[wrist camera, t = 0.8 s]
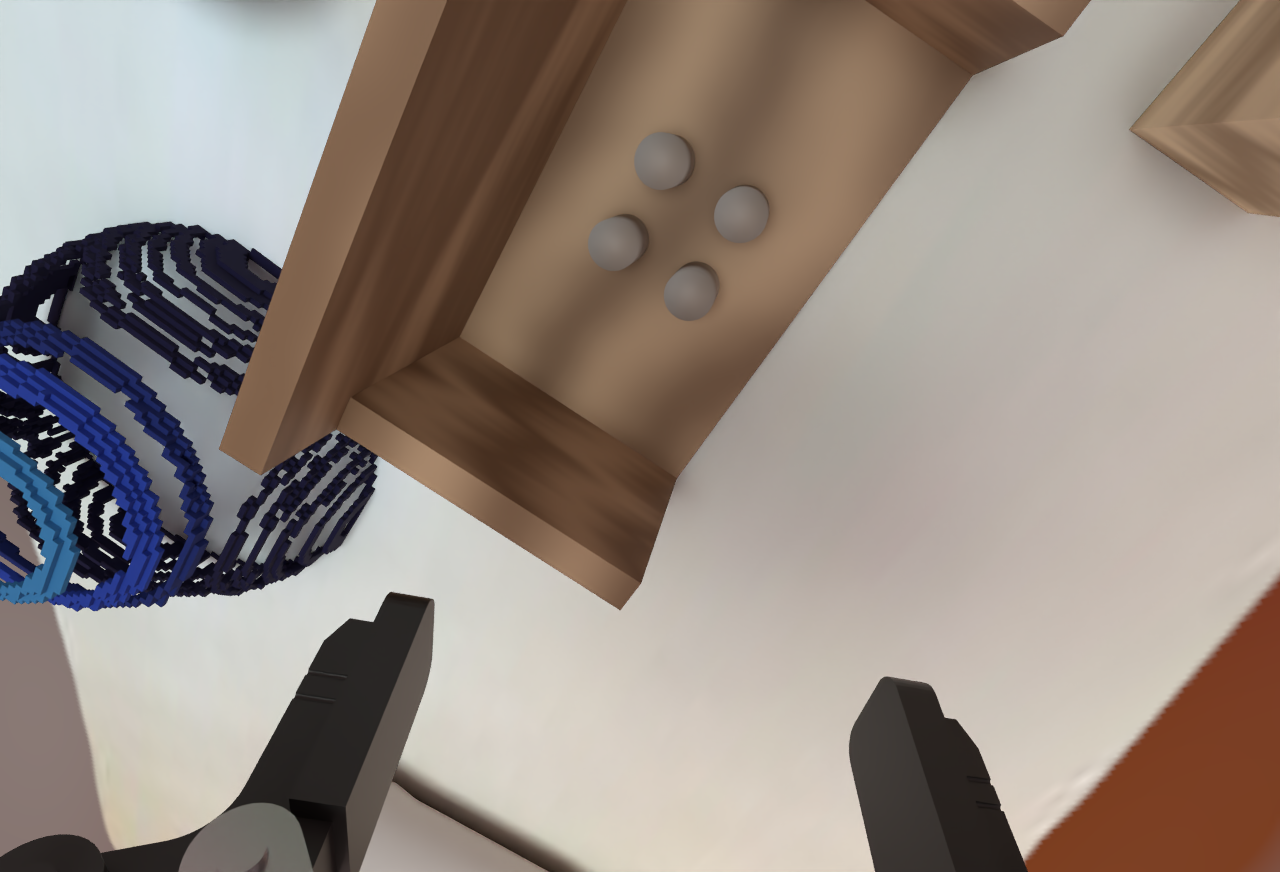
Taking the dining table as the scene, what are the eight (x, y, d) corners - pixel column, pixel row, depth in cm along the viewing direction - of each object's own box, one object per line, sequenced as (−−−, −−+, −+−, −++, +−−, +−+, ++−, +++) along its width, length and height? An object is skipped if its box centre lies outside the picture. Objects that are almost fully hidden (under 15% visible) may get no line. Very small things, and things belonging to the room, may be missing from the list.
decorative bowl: (104, 136, 34) (-328, 123, 21) (440, 384, 35) (234, 519, 22) (19, 429, 42) (-329, 553, 29) (295, 621, 43) (82, 821, 30)
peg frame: (430, 339, 34) (219, 448, 21) (680, -183, 25) (566, -542, 12) (663, 491, 35) (592, 685, 22) (995, 38, 25) (1205, -81, 13)
